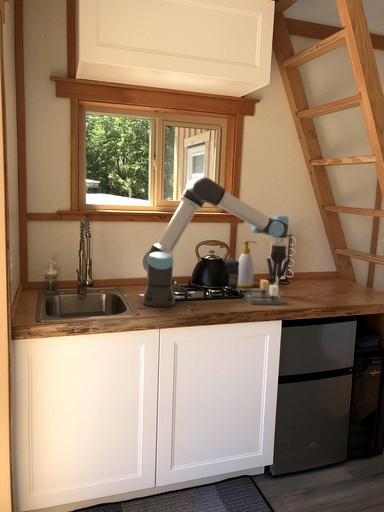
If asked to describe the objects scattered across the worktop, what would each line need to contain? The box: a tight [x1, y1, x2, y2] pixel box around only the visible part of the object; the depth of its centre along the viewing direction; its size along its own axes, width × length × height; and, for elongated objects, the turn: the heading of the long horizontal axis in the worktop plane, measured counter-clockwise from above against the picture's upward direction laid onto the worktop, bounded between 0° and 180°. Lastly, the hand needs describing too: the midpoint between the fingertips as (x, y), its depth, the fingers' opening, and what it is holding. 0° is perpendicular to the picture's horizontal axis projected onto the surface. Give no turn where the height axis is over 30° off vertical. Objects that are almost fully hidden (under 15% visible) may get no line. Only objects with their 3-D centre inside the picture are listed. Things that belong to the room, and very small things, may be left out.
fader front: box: [268, 284, 279, 297], centre depth 218 cm, size 3×5×5 cm, turn 9°
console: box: [237, 287, 284, 306], centre depth 225 cm, size 16×26×3 cm, turn 9°
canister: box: [224, 258, 239, 289], centre depth 234 cm, size 10×10×18 cm
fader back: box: [259, 279, 270, 291], centre depth 231 cm, size 3×5×5 cm, turn 9°
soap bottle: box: [237, 240, 258, 288], centre depth 251 cm, size 11×12×26 cm
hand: (275, 288), depth 232 cm, fingers closed
